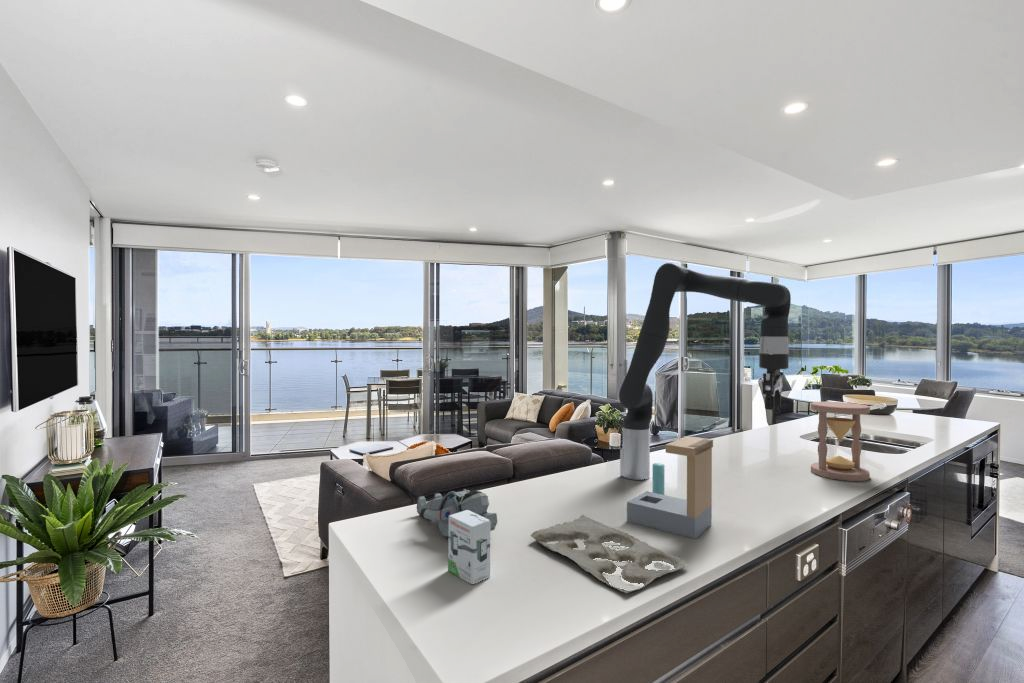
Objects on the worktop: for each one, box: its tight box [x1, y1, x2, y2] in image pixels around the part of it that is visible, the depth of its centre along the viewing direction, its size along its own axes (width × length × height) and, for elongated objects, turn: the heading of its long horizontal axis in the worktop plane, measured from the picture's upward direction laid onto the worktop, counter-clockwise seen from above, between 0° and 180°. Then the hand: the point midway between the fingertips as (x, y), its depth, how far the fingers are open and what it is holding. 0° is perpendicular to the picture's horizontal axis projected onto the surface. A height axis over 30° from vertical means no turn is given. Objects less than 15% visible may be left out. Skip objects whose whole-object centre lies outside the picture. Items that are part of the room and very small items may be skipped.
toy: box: [416, 488, 498, 538], centre depth 124 cm, size 17×11×30 cm
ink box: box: [447, 510, 491, 585], centre depth 100 cm, size 9×5×12 cm, turn 43°
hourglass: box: [810, 401, 871, 482], centre depth 174 cm, size 18×18×25 cm
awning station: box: [626, 435, 714, 539], centre depth 129 cm, size 18×14×22 cm
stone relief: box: [530, 514, 689, 594], centre depth 110 cm, size 32×3×20 cm
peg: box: [652, 462, 666, 495], centre depth 145 cm, size 3×3×11 cm
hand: (773, 407), depth 143 cm, fingers open, 8 cm apart
